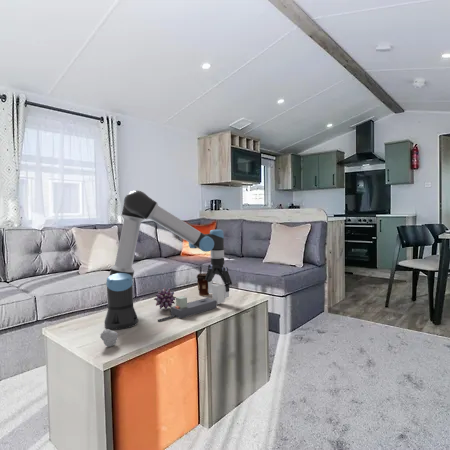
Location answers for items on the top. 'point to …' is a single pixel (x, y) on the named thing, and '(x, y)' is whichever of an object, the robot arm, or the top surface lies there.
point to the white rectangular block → (218, 293)
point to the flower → (165, 298)
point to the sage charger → (181, 302)
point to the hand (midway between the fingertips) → (218, 295)
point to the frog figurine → (109, 337)
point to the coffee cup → (202, 284)
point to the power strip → (192, 308)
